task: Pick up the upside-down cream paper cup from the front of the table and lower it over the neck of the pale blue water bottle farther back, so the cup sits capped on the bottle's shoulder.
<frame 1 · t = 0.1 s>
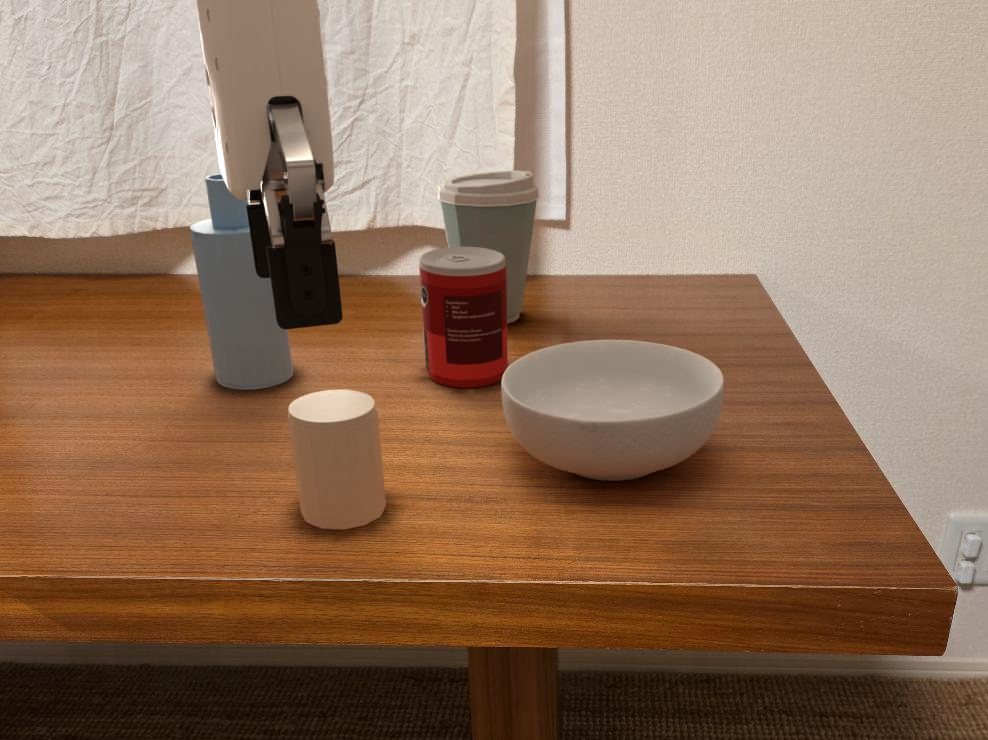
hand: (296, 298, 54), 18 cm above the table, tool pointing down, fingers open, 9 cm apart
water bottle: (255, 376, 95), on the table
cereal bowl: (609, 461, 79), on the table
paper cup: (343, 509, 72), on the table
canned food: (467, 375, 95), on the table
disposable coffee cup: (491, 318, 110), on the table
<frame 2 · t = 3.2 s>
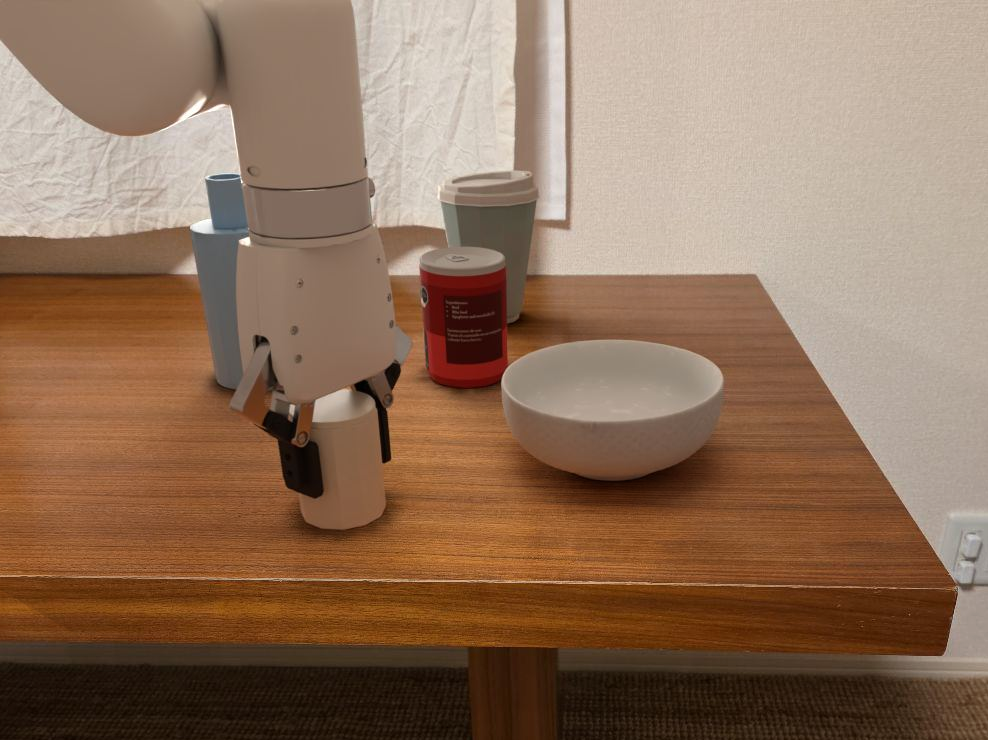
hand: (339, 472, 71), 3 cm above the table, tool pointing down, fingers closed on paper cup, 5 cm apart
paper cup: (343, 509, 72), on the table, touching gripper
everything else where it was.
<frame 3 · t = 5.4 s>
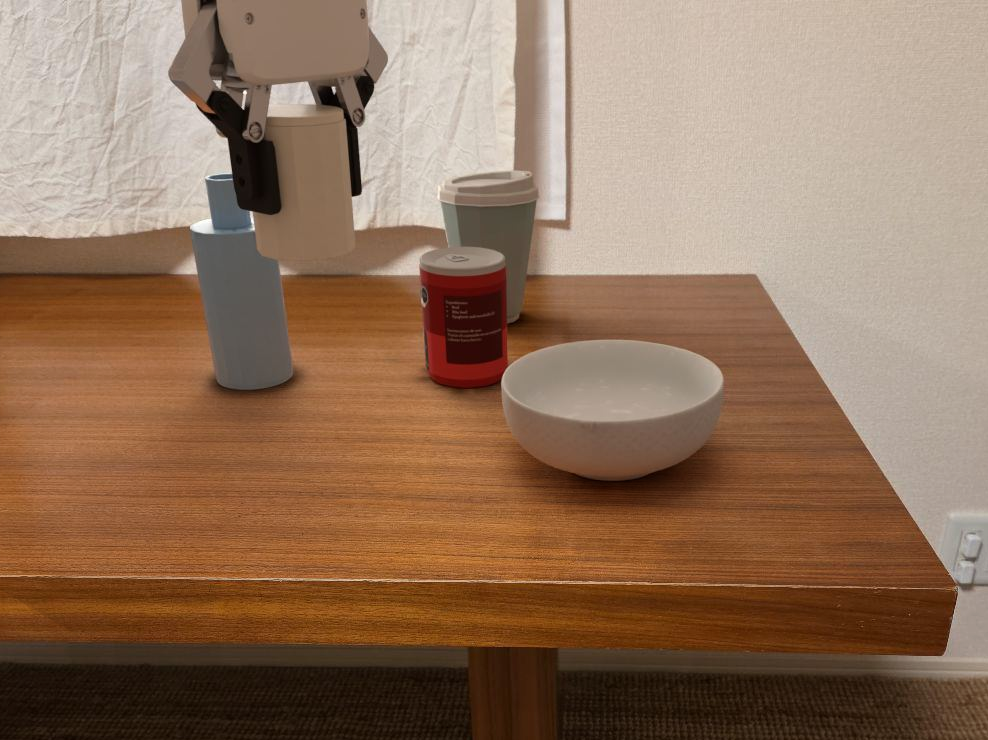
hand: (301, 199, 61), 21 cm above the table, tool pointing down, fingers closed on paper cup, 5 cm apart
paper cup: (306, 248, 63), point 18 cm above the table, touching gripper
everything else where it was.
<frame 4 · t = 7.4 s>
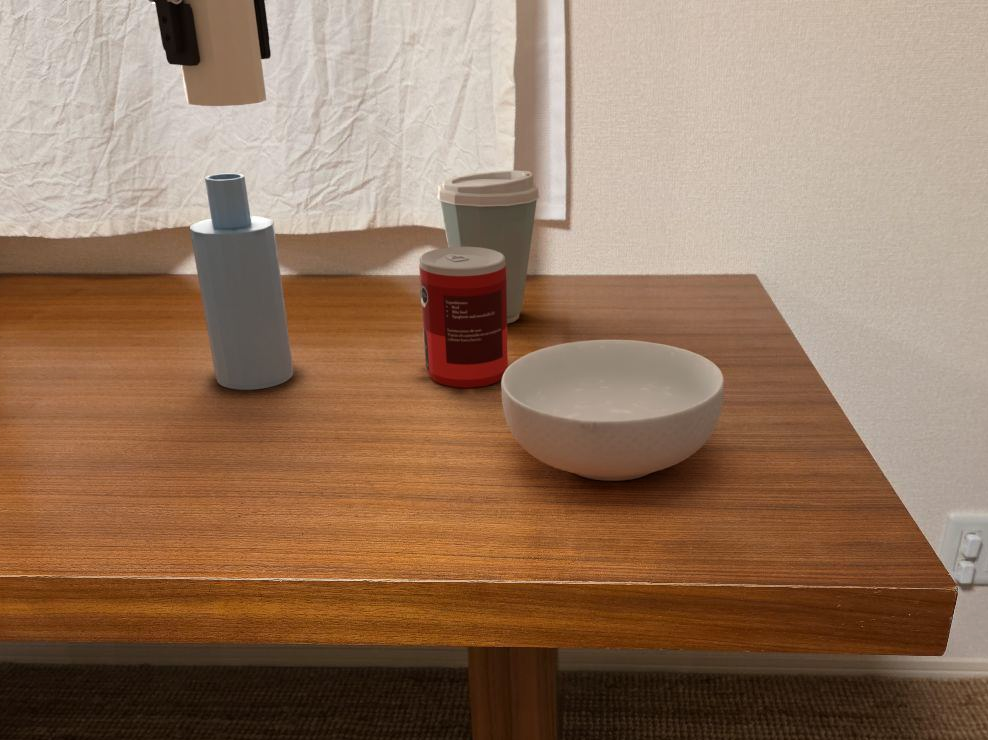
hand: (220, 58, 76), 28 cm above the table, tool pointing down, fingers closed on paper cup, 5 cm apart
paper cup: (226, 101, 78), point 25 cm above the table, touching gripper
everything else where it was.
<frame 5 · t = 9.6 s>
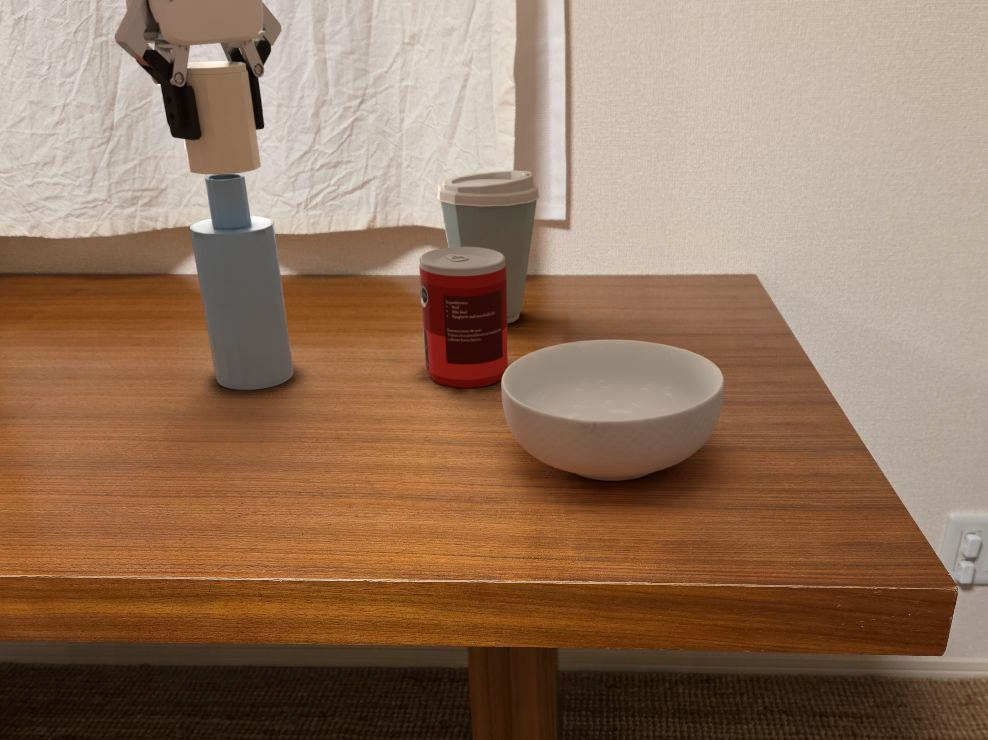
hand: (218, 130, 84), 22 cm above the table, tool pointing down, fingers closed on paper cup, 5 cm apart
paper cup: (224, 168, 86), point 19 cm above the table, touching gripper
everything else where it was.
when the fingers open (17 cm above the table, at t = 11.4 s): paper cup stays where it is, resting on water bottle.
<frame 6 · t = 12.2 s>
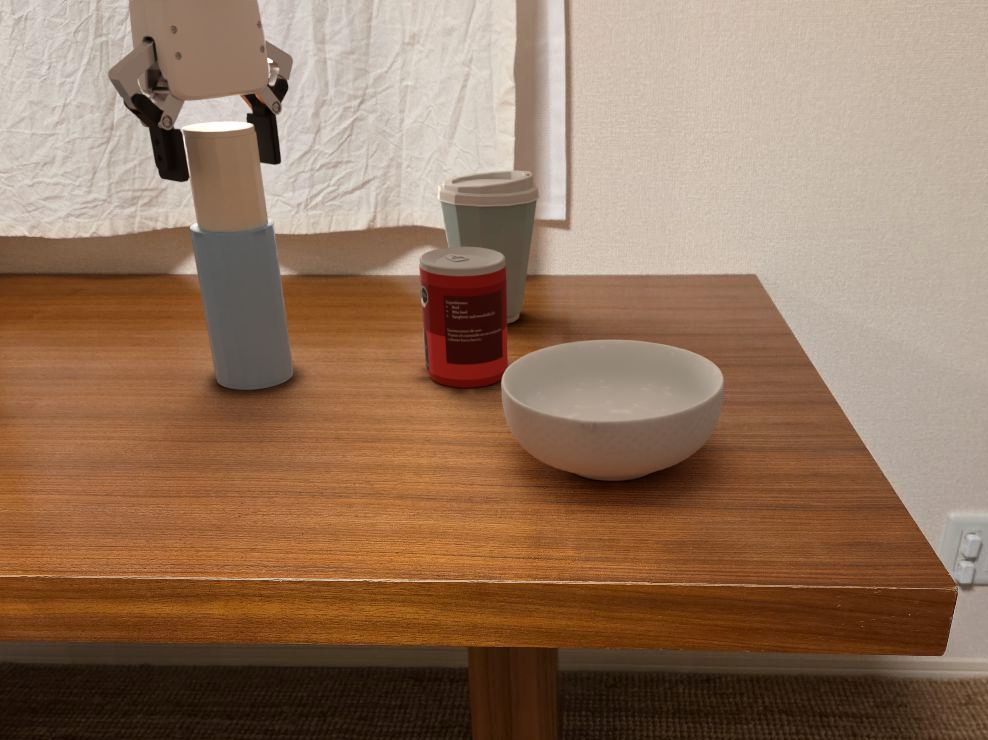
hand: (222, 171, 86), 18 cm above the table, tool pointing down, fingers open, 9 cm apart
paper cup: (233, 224, 88), point 14 cm above the table, touching water bottle
everything else where it was.
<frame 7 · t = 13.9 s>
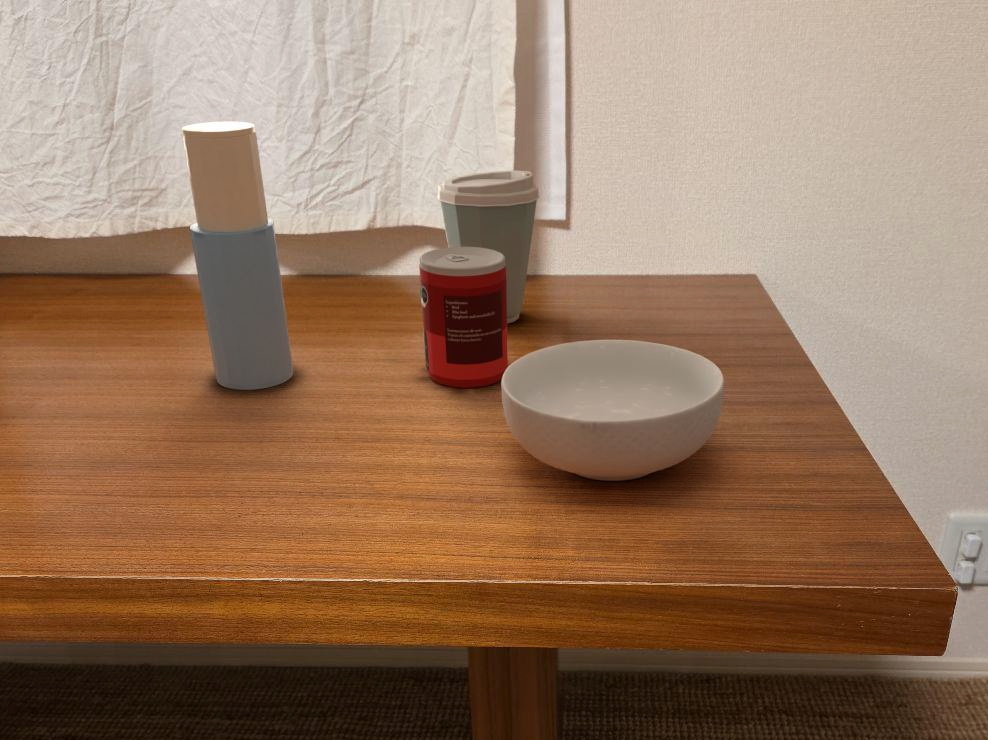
nothing on the table moved.
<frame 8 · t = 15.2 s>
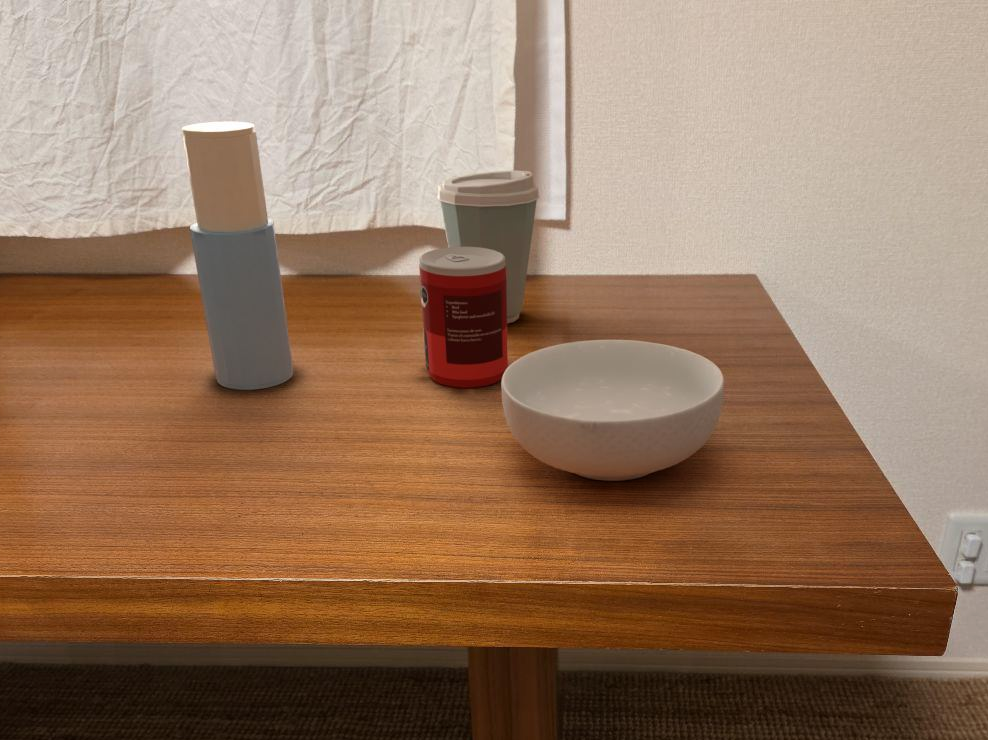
nothing on the table moved.
at the end: paper cup 0.1 cm off-centre in the water bottle, point 14.0 cm above the water bottle's base; paper cup tilted 0°; the gripper is holding nothing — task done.
